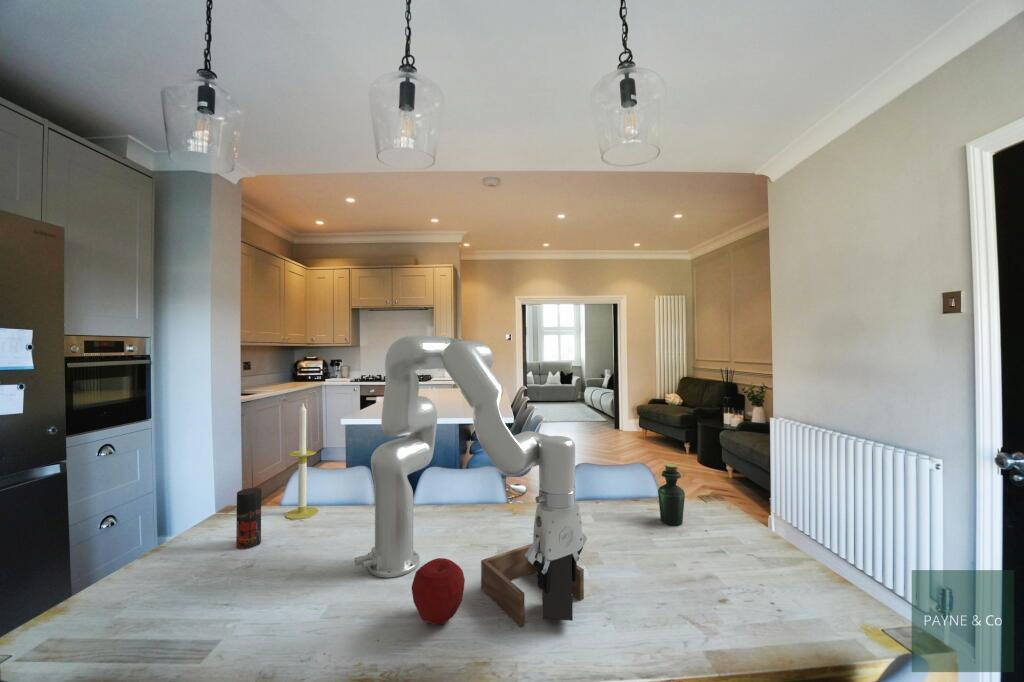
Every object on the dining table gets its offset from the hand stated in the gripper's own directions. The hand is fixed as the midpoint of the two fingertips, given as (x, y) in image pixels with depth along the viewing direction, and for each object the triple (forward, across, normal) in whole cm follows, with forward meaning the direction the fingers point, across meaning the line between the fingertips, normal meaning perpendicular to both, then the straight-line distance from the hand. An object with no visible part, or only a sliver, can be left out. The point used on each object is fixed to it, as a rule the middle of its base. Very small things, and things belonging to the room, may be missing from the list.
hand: (557, 583), depth 86 cm
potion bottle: (+7, +60, +15) cm, 62 cm away
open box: (+7, 0, +9) cm, 11 cm away
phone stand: (+5, 0, 0) cm, 5 cm away
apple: (+7, -21, +13) cm, 25 cm away
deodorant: (+7, -53, +73) cm, 90 cm away
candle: (+7, -37, +89) cm, 97 cm away
